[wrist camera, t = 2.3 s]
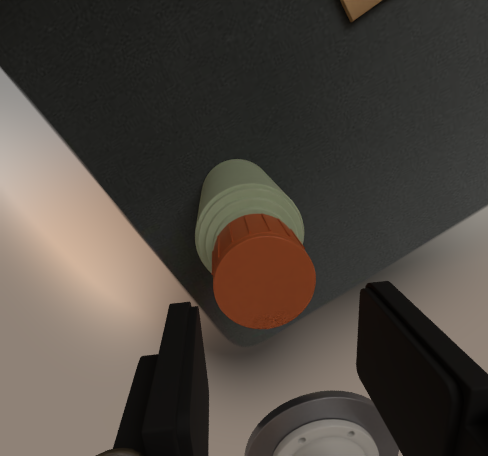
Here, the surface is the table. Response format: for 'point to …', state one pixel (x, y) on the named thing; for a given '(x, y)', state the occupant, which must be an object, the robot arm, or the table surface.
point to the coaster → (357, 7)
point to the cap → (261, 272)
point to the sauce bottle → (239, 203)
